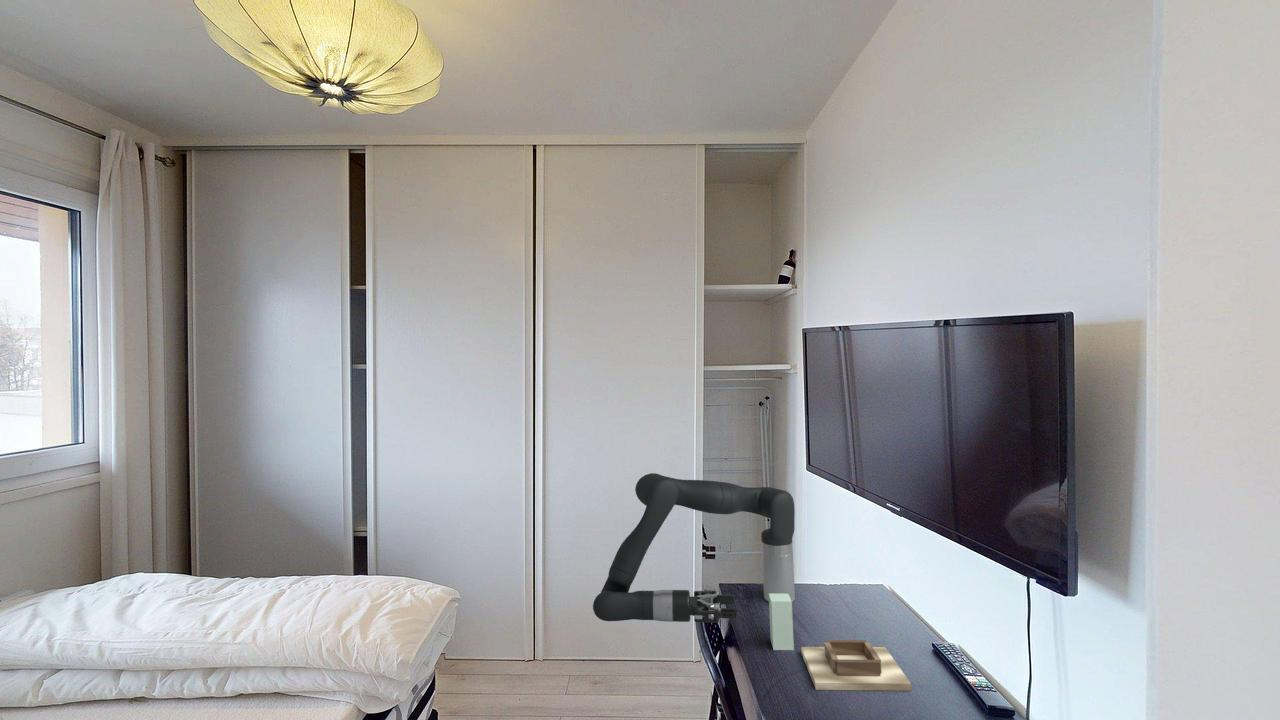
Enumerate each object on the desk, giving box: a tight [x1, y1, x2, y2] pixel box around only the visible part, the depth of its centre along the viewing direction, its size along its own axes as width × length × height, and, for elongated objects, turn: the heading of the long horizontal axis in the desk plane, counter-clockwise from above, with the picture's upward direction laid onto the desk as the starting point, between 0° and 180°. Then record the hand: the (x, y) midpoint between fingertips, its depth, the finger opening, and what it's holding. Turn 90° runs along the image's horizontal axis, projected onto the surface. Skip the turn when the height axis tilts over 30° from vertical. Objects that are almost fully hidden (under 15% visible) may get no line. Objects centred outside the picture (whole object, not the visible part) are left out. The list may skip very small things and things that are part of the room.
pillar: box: [768, 594, 795, 651], centre depth 143 cm, size 5×5×12 cm
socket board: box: [800, 639, 912, 692], centre depth 129 cm, size 16×20×4 cm
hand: (735, 606), depth 143 cm, fingers open, 8 cm apart
